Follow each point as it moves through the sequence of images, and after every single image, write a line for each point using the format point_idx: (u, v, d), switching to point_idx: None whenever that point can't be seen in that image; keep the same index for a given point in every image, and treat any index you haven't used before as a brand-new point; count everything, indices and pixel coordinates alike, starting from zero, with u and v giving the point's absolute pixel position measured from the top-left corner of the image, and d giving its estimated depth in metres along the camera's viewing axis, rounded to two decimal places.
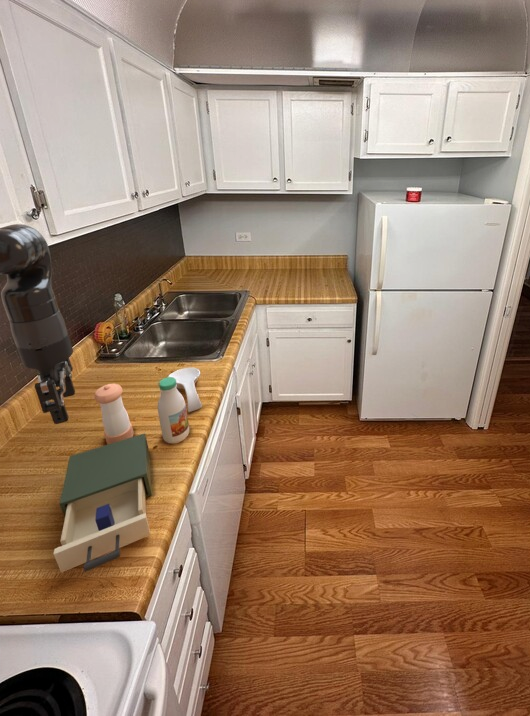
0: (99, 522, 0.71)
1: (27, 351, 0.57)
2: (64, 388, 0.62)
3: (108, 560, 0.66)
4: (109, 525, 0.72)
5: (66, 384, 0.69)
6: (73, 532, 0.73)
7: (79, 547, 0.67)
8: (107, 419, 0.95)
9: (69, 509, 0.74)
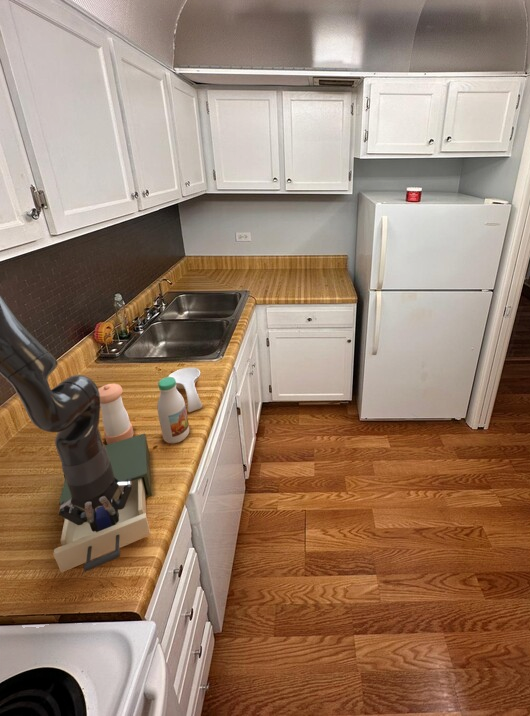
0: (99, 522, 0.71)
1: None
2: (89, 514, 0.69)
3: (108, 560, 0.66)
4: (109, 525, 0.72)
5: None
6: (73, 532, 0.73)
7: (79, 547, 0.67)
8: (107, 419, 0.95)
9: None
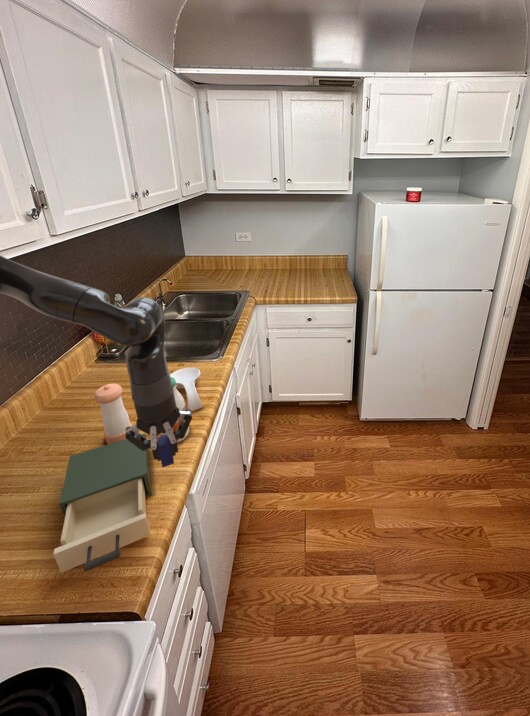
0: (161, 449, 0.72)
1: None
2: (153, 440, 0.70)
3: (108, 560, 0.66)
4: (170, 454, 0.73)
5: (170, 444, 0.74)
6: (73, 532, 0.73)
7: (79, 547, 0.67)
8: (107, 419, 0.95)
9: (69, 509, 0.74)
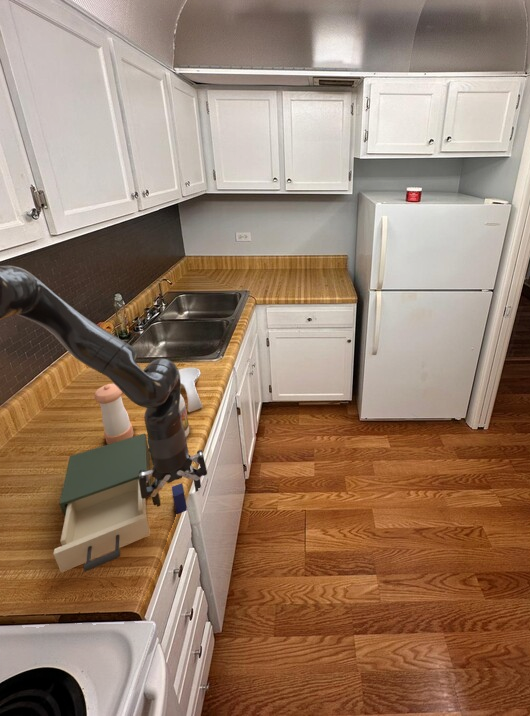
0: (176, 499, 0.78)
1: None
2: (159, 487, 0.74)
3: (108, 560, 0.66)
4: (184, 502, 0.79)
5: None
6: (73, 532, 0.73)
7: (79, 547, 0.67)
8: (107, 419, 0.95)
9: (69, 509, 0.74)
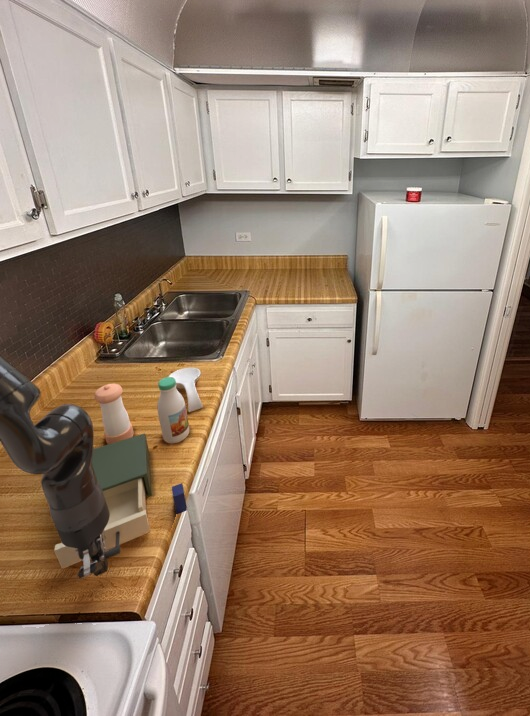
0: (176, 499, 0.78)
1: (67, 533, 0.56)
2: (103, 549, 0.62)
3: (108, 556, 0.66)
4: (184, 502, 0.79)
5: None
6: None
7: None
8: (107, 419, 0.95)
9: None
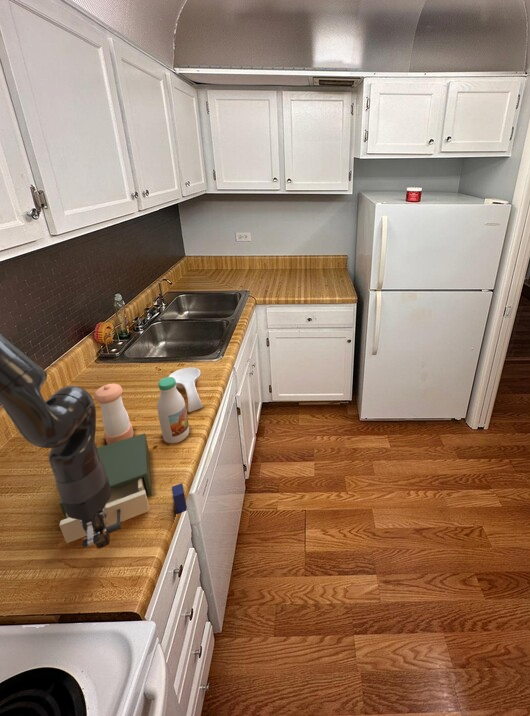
0: (176, 499, 0.78)
1: (72, 505, 0.60)
2: (105, 522, 0.67)
3: (110, 531, 0.71)
4: (184, 502, 0.79)
5: None
6: None
7: None
8: (107, 419, 0.95)
9: None
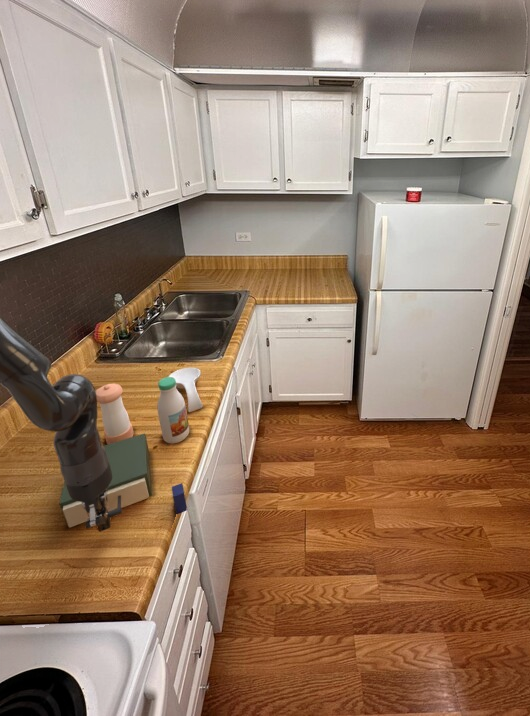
0: (176, 499, 0.78)
1: (75, 488, 0.63)
2: (107, 506, 0.70)
3: (111, 516, 0.74)
4: (184, 502, 0.79)
5: None
6: None
7: None
8: (107, 419, 0.95)
9: None
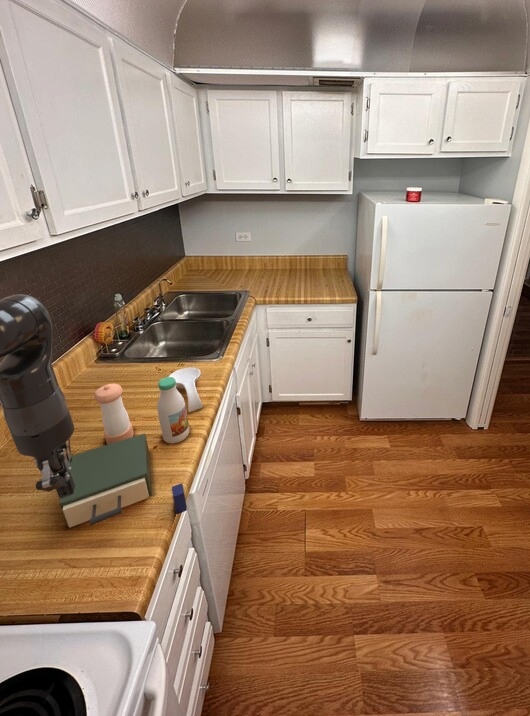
0: (176, 499, 0.78)
1: (22, 438, 0.50)
2: (67, 466, 0.57)
3: (111, 516, 0.74)
4: (184, 502, 0.79)
5: None
6: None
7: (85, 504, 0.75)
8: (107, 419, 0.95)
9: None
